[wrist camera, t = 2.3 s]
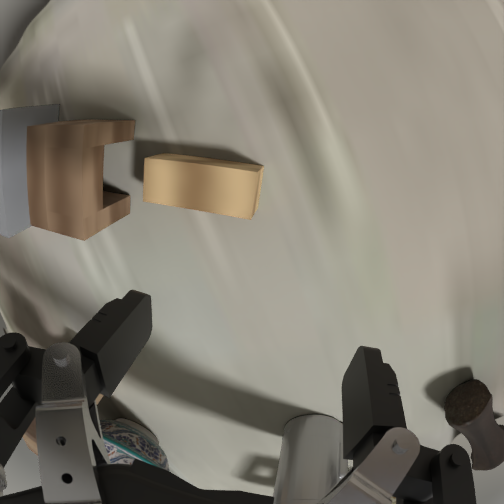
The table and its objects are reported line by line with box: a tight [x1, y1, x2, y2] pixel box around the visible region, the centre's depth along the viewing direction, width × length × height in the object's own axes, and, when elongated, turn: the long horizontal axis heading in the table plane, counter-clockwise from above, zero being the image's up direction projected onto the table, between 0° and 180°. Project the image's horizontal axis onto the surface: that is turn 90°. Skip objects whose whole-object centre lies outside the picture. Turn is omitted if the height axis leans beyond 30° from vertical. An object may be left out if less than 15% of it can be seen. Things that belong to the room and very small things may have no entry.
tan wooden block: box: [143, 153, 264, 220], centre depth 26 cm, size 10×4×4 cm, turn 83°
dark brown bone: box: [444, 379, 504, 470], centre depth 32 cm, size 11×10×28 cm
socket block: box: [26, 120, 135, 241], centre depth 25 cm, size 8×10×8 cm
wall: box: [0, 104, 60, 238], centre depth 26 cm, size 2×14×9 cm, turn 171°
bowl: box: [99, 418, 169, 471], centre depth 48 cm, size 25×25×10 cm
